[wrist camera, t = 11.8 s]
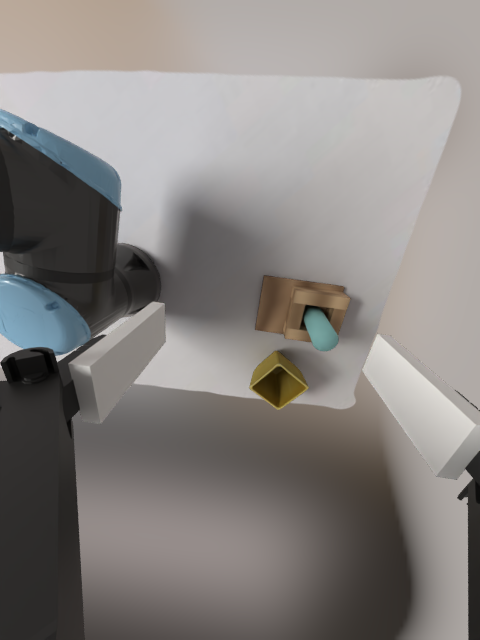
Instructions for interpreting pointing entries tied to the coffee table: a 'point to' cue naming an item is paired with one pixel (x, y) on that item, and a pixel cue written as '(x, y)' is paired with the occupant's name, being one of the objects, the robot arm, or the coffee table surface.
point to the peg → (319, 328)
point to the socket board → (280, 301)
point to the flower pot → (278, 381)
